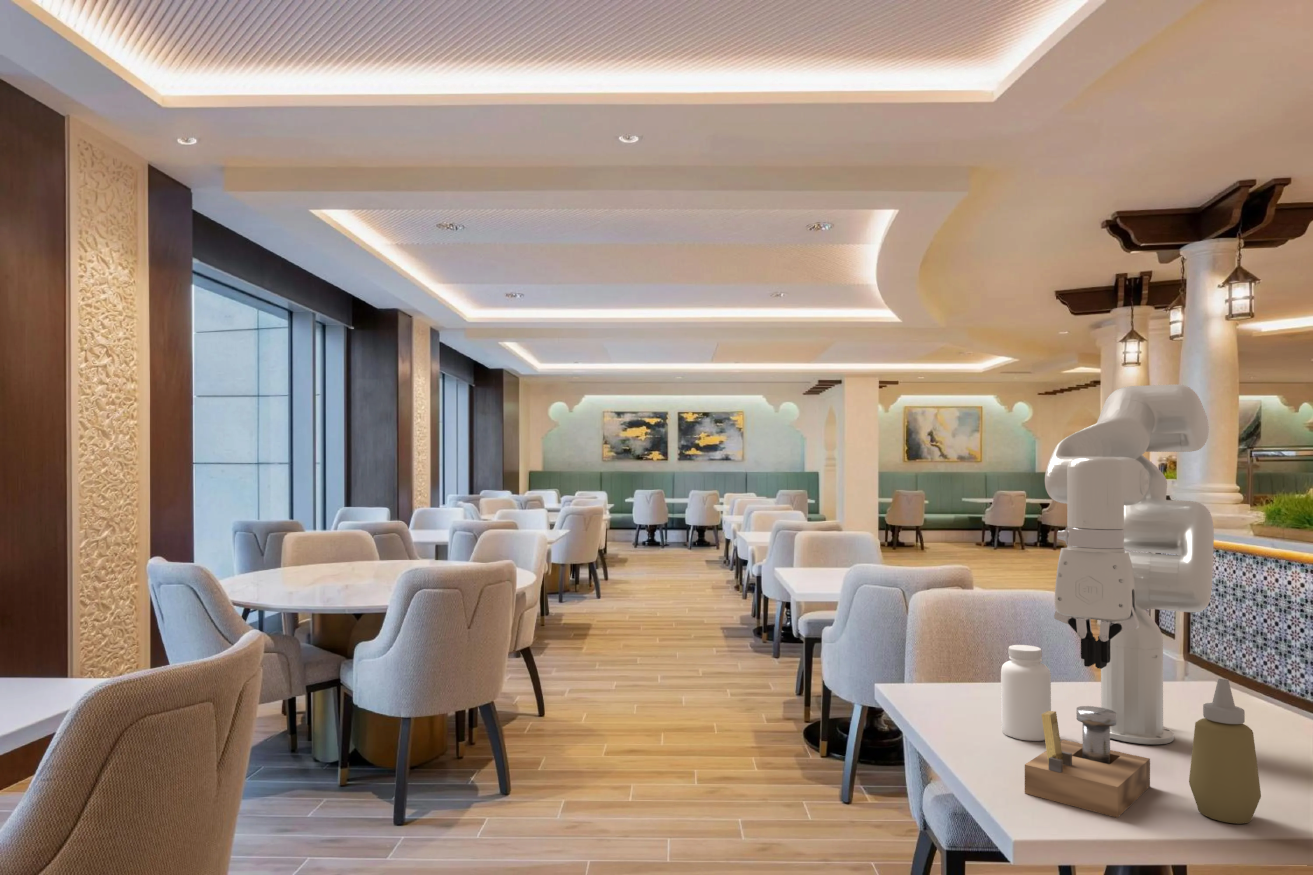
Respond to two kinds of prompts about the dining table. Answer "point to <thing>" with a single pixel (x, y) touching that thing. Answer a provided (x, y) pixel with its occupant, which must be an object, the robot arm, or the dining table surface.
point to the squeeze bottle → (1224, 761)
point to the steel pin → (1096, 732)
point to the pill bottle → (1024, 693)
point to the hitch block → (1088, 779)
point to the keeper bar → (1052, 735)
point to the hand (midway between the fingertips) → (1095, 665)
